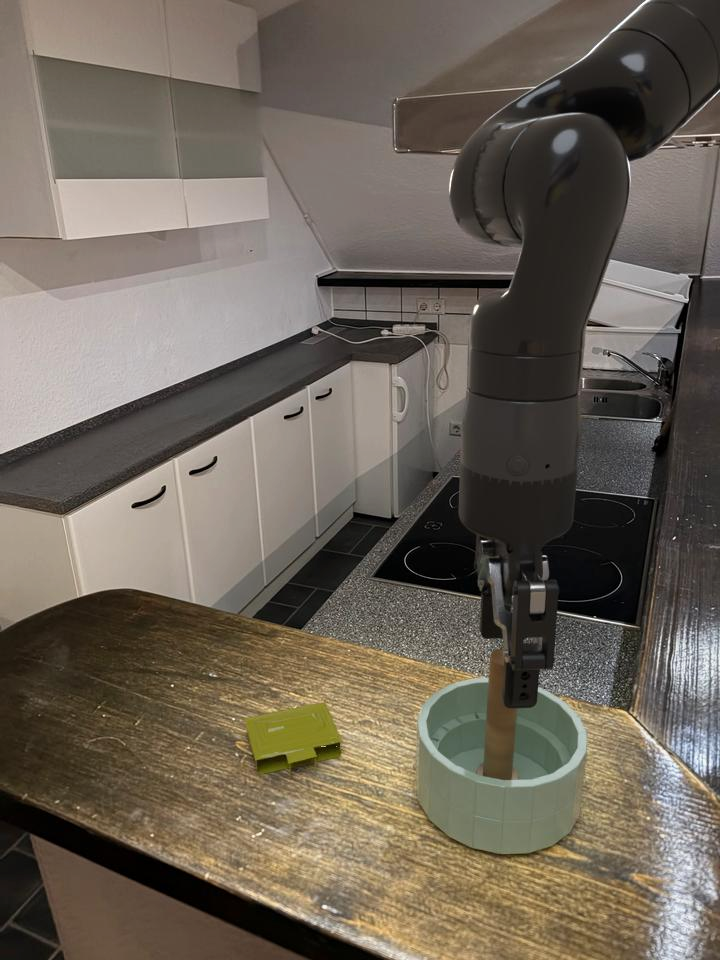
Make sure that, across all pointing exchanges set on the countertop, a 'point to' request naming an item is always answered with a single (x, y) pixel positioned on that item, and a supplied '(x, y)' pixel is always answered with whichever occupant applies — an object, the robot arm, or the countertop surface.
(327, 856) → the countertop surface
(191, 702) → the countertop surface
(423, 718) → the bowl
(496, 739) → the stirring stick
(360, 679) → the countertop surface
